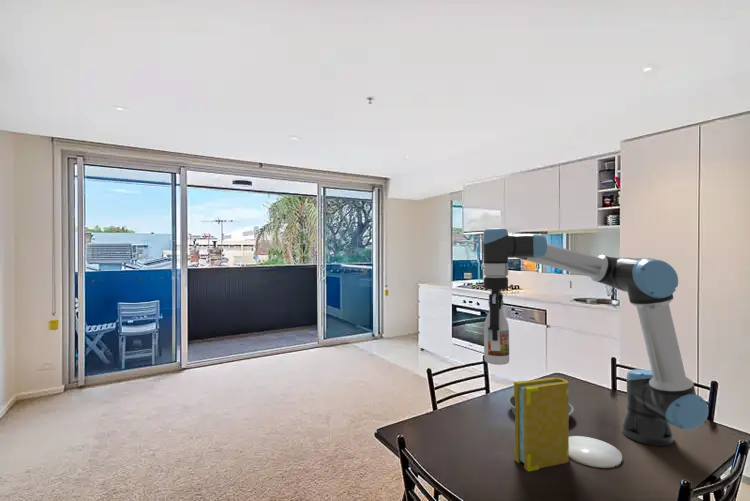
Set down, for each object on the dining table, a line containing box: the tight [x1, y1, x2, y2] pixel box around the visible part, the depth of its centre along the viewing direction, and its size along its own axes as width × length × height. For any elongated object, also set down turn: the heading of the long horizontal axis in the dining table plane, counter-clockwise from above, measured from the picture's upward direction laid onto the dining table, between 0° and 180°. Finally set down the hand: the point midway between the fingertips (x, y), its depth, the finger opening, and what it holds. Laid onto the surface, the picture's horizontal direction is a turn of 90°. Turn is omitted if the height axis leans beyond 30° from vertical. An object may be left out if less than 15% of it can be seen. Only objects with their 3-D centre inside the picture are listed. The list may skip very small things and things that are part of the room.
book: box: [513, 377, 570, 472], centre depth 124 cm, size 17×7×25 cm, turn 106°
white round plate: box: [569, 435, 623, 469], centre depth 128 cm, size 18×18×1 cm
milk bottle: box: [483, 299, 510, 366], centre depth 126 cm, size 8×8×20 cm
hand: (496, 347), depth 126 cm, fingers closed on milk bottle, 8 cm apart
